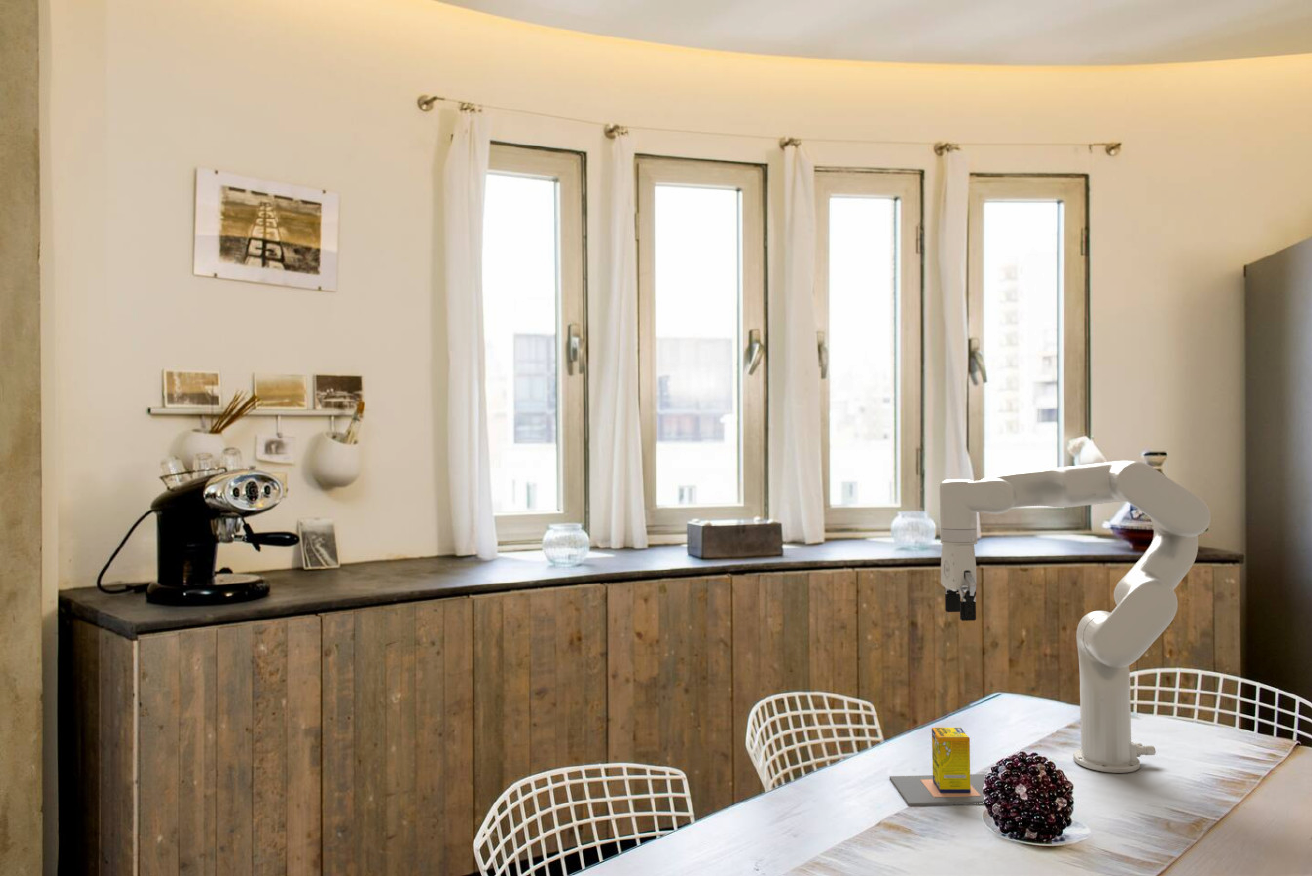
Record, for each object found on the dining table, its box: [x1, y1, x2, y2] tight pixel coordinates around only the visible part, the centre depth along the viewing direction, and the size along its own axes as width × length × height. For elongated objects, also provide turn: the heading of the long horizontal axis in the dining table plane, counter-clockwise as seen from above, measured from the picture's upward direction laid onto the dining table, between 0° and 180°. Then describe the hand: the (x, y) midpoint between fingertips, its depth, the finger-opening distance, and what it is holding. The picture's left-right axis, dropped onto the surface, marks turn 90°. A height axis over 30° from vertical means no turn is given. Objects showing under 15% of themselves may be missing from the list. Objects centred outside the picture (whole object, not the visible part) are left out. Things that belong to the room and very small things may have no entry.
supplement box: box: [931, 727, 971, 793], centre depth 183 cm, size 6×6×11 cm
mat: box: [889, 773, 986, 807], centre depth 183 cm, size 20×14×1 cm
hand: (960, 615), depth 202 cm, fingers open, 9 cm apart
